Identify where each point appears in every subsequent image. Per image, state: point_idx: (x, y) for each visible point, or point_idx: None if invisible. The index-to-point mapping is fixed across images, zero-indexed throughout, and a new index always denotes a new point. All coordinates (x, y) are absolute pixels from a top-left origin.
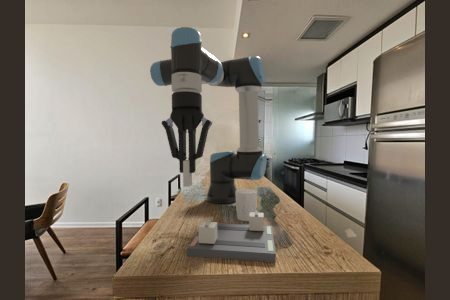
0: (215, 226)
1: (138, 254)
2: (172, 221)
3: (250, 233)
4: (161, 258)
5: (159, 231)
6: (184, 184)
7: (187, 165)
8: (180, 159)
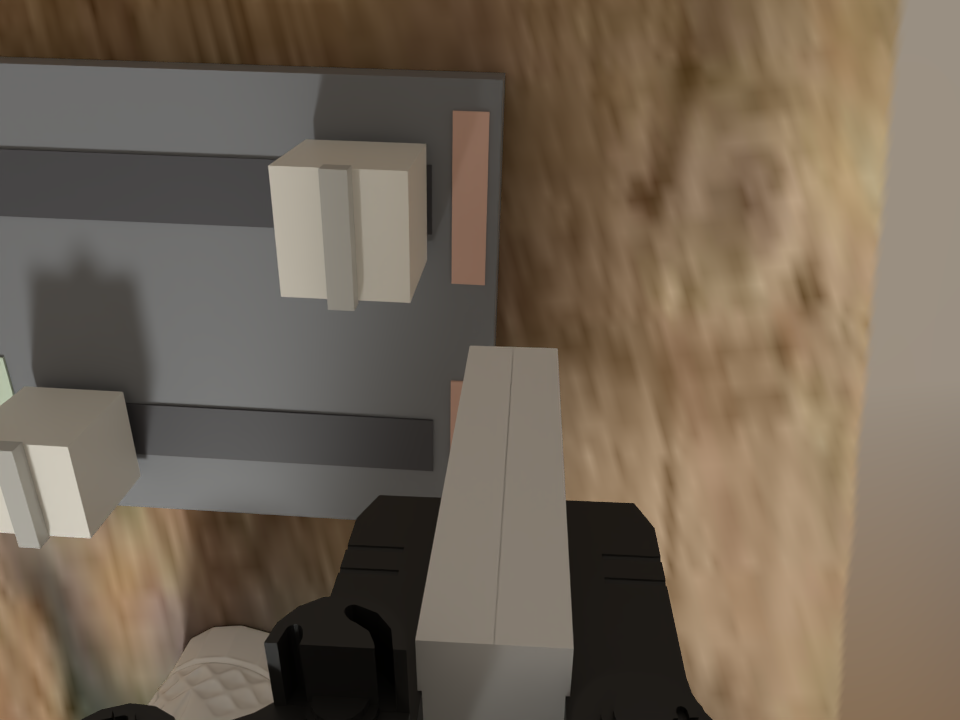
0: (275, 213)
1: (870, 58)
2: (759, 606)
3: (116, 364)
4: (678, 17)
5: (814, 438)
6: (540, 363)
7: (463, 557)
8: (653, 688)
